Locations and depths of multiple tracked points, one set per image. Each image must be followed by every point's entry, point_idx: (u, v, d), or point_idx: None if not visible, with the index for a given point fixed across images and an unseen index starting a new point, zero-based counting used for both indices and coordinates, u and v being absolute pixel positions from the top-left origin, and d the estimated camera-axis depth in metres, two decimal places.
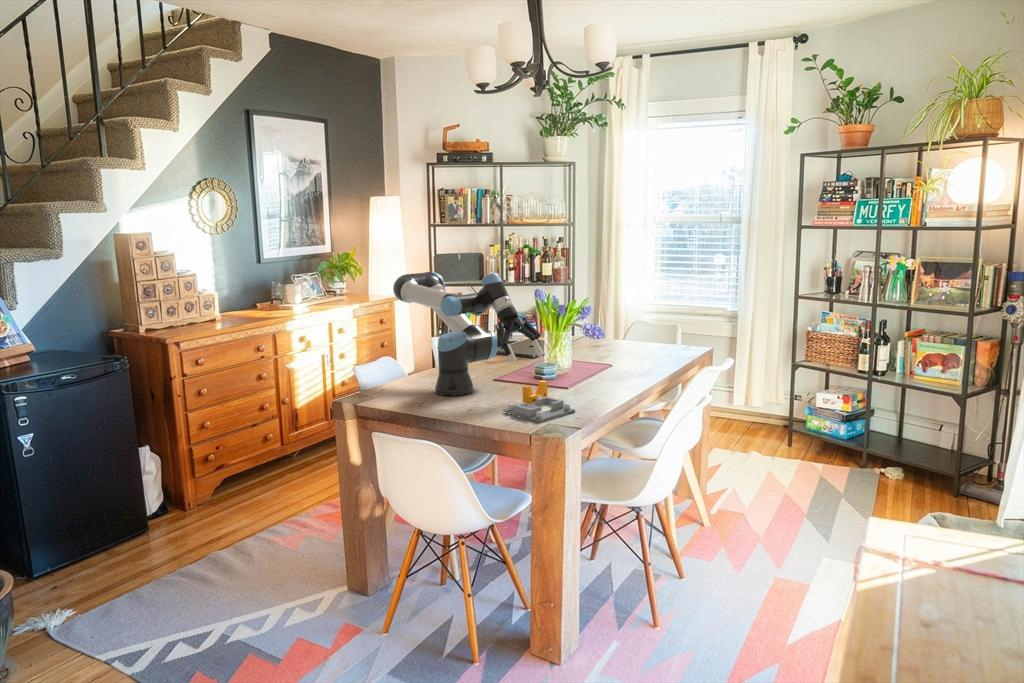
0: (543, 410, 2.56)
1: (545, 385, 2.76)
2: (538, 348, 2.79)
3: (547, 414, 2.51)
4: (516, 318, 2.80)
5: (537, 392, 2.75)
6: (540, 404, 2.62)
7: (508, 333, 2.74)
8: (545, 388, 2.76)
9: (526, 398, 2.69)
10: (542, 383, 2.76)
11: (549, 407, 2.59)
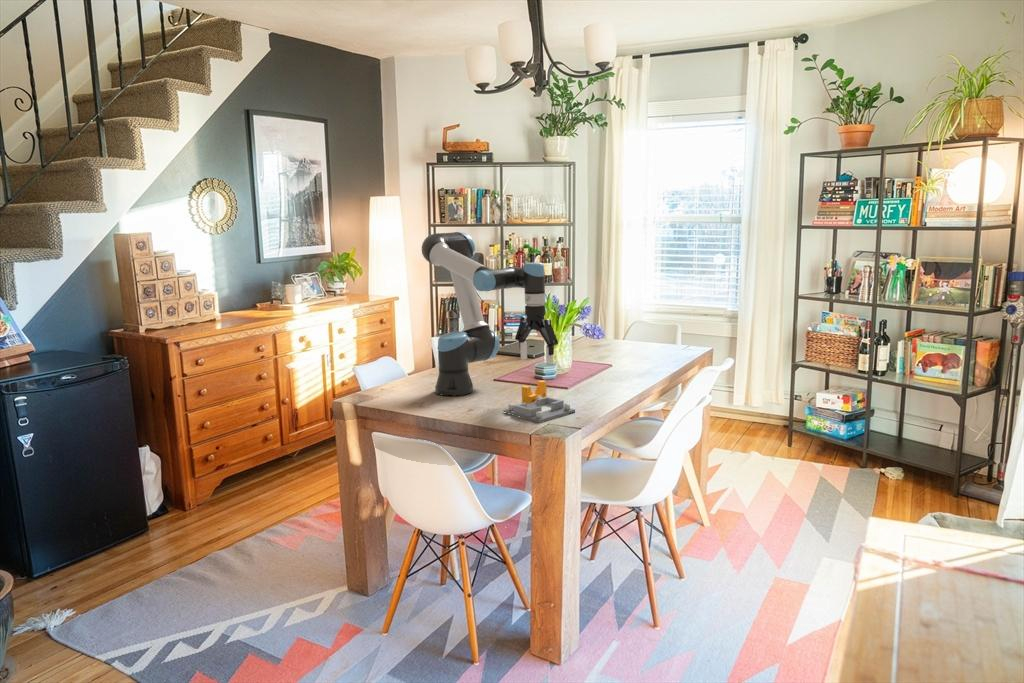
0: (543, 410, 2.56)
1: (544, 385, 2.76)
2: None
3: (547, 414, 2.51)
4: (538, 318, 2.65)
5: (536, 392, 2.75)
6: (540, 404, 2.62)
7: (525, 331, 2.71)
8: (544, 388, 2.77)
9: (525, 398, 2.69)
10: (541, 383, 2.76)
11: (549, 407, 2.59)
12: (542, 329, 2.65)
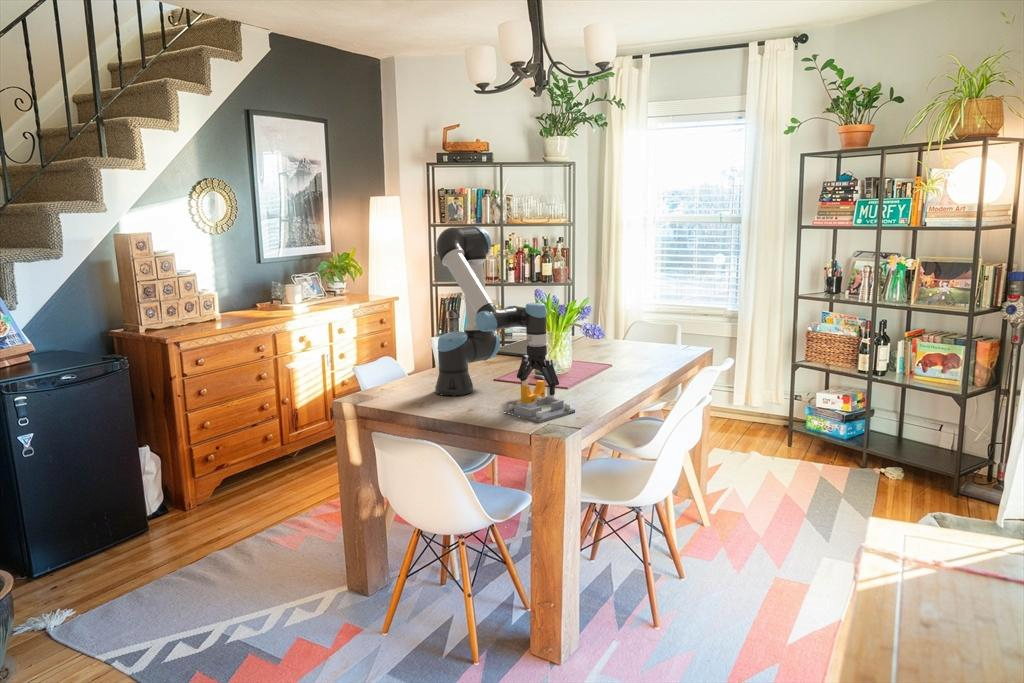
0: (543, 410, 2.56)
1: (543, 385, 2.77)
2: None
3: (547, 414, 2.51)
4: (539, 358, 2.68)
5: (535, 392, 2.76)
6: (540, 404, 2.62)
7: (526, 370, 2.74)
8: (543, 388, 2.77)
9: (524, 398, 2.69)
10: (540, 383, 2.76)
11: (549, 407, 2.59)
12: (543, 369, 2.68)
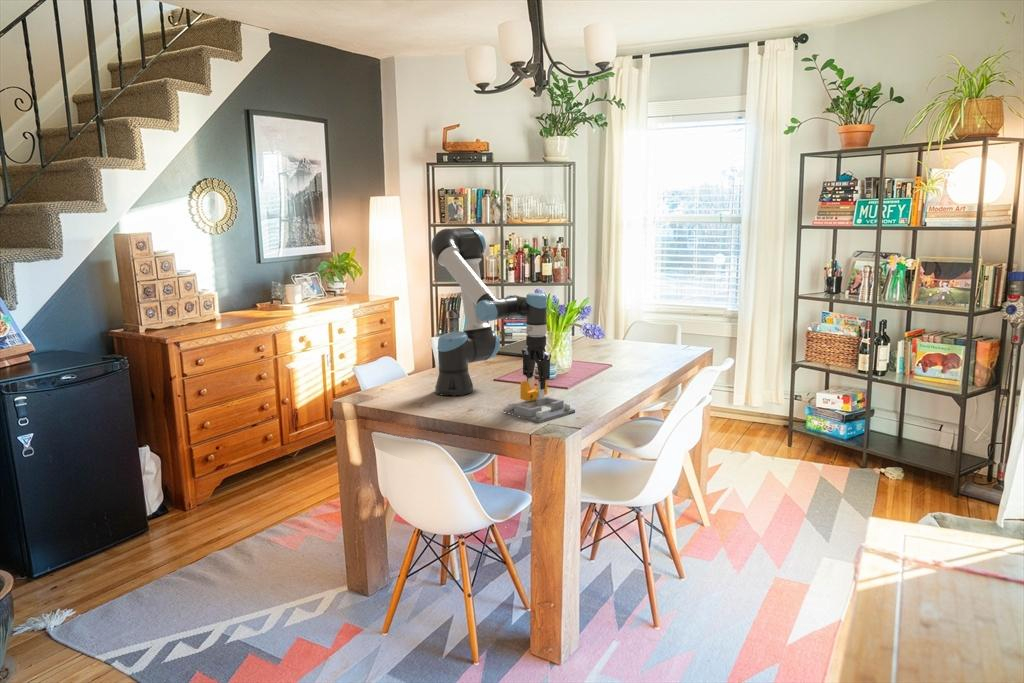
0: (543, 410, 2.56)
1: (545, 381, 2.76)
2: None
3: (547, 414, 2.51)
4: (539, 348, 2.67)
5: (536, 388, 2.75)
6: (540, 404, 2.62)
7: (529, 363, 2.72)
8: (545, 384, 2.76)
9: (523, 394, 2.69)
10: None
11: (549, 407, 2.59)
12: (540, 362, 2.69)
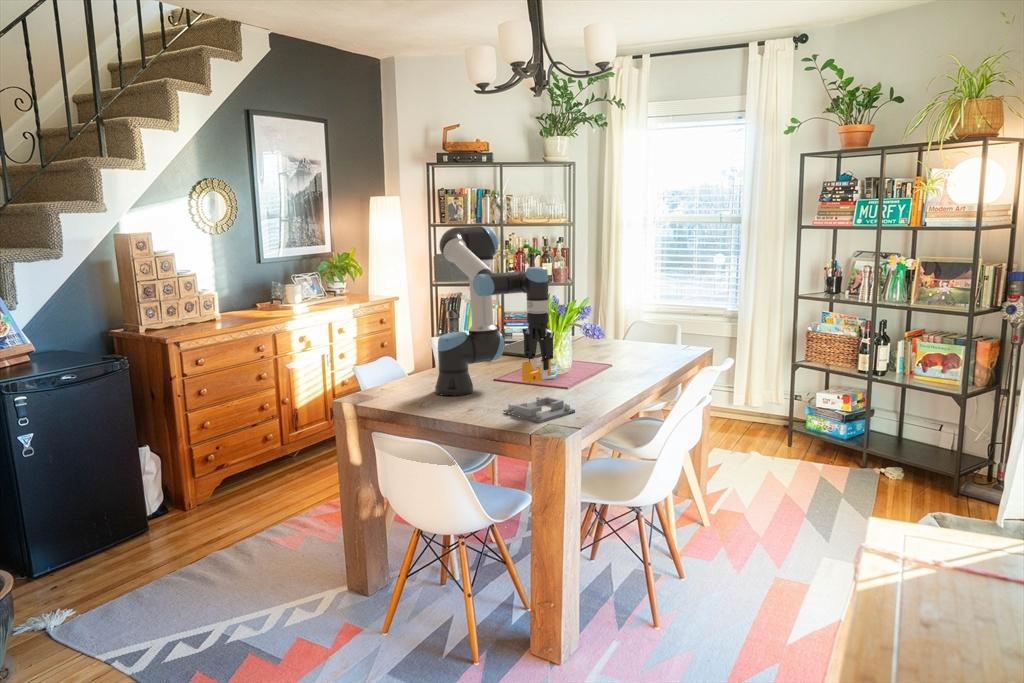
0: (543, 410, 2.56)
1: None
2: None
3: (547, 414, 2.51)
4: (542, 326, 2.49)
5: (539, 369, 2.56)
6: (540, 404, 2.62)
7: (530, 343, 2.54)
8: None
9: (526, 375, 2.51)
10: None
11: (549, 407, 2.59)
12: (542, 340, 2.50)
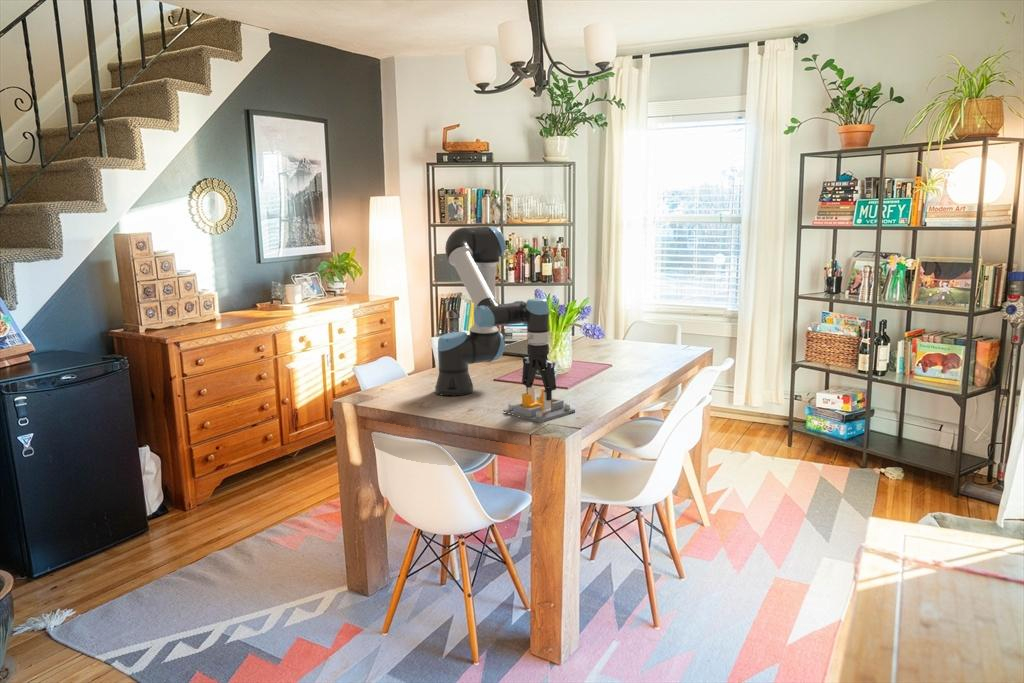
0: None
1: None
2: None
3: (547, 414, 2.51)
4: (541, 357, 2.51)
5: (539, 400, 2.58)
6: None
7: (529, 373, 2.56)
8: None
9: (525, 406, 2.53)
10: None
11: None
12: (543, 371, 2.52)
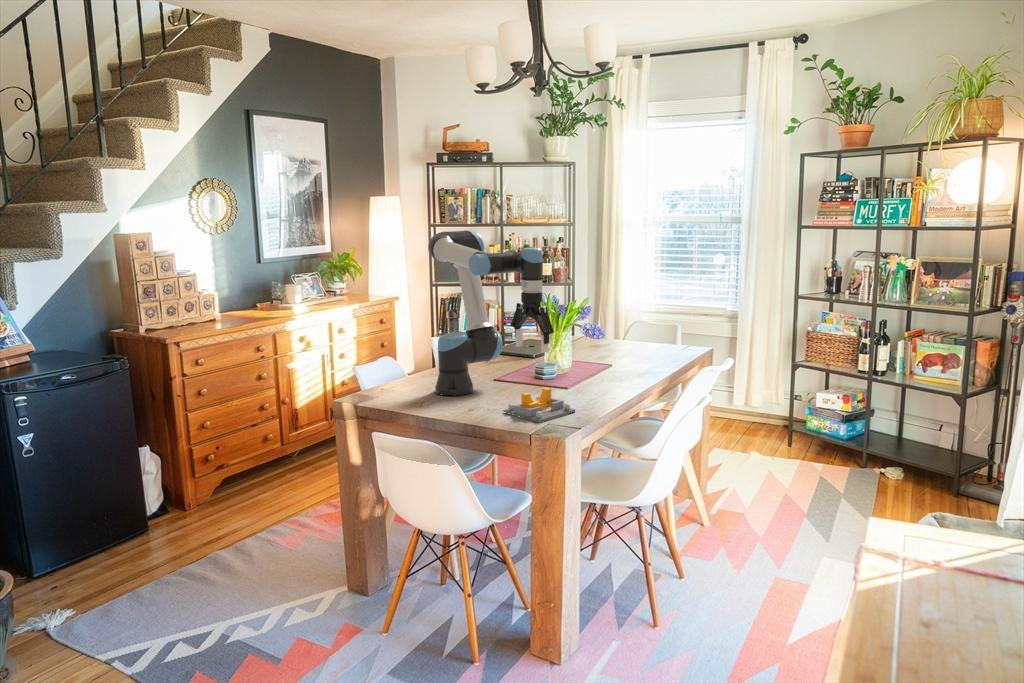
0: (543, 410, 2.56)
1: (548, 393, 2.60)
2: None
3: (547, 414, 2.51)
4: (534, 305, 2.58)
5: (539, 400, 2.59)
6: None
7: (520, 318, 2.64)
8: (548, 396, 2.60)
9: (525, 406, 2.54)
10: (545, 390, 2.59)
11: (549, 407, 2.59)
12: (538, 317, 2.58)
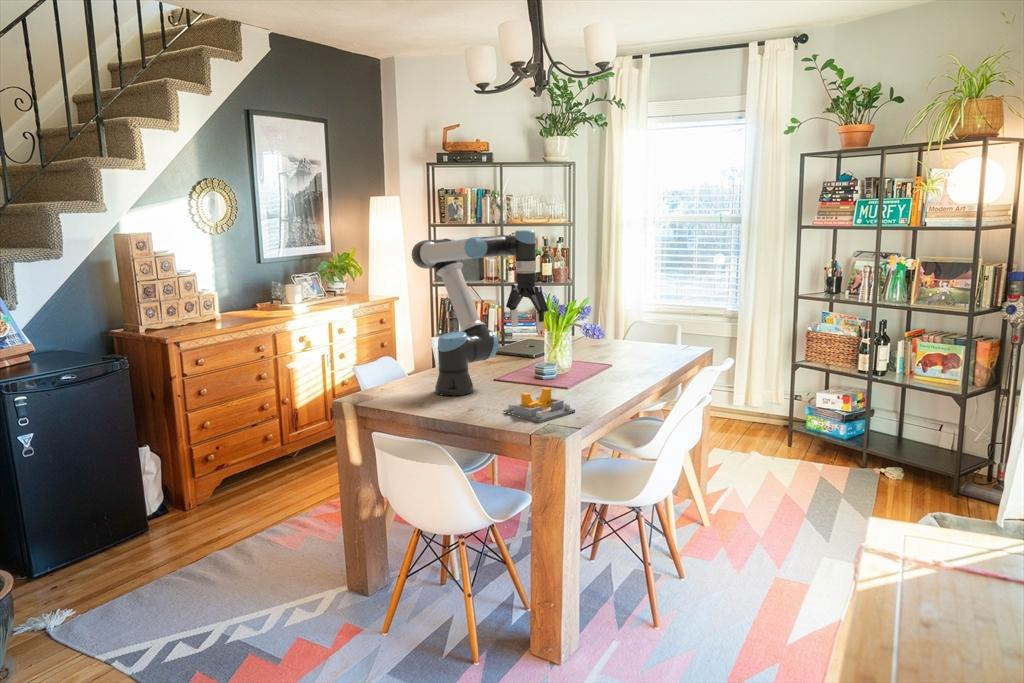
0: (543, 410, 2.56)
1: (548, 393, 2.60)
2: None
3: (547, 414, 2.51)
4: (528, 285, 2.68)
5: (539, 400, 2.59)
6: None
7: (515, 298, 2.74)
8: (548, 396, 2.60)
9: (524, 406, 2.54)
10: (545, 390, 2.59)
11: (549, 407, 2.59)
12: (532, 296, 2.68)
